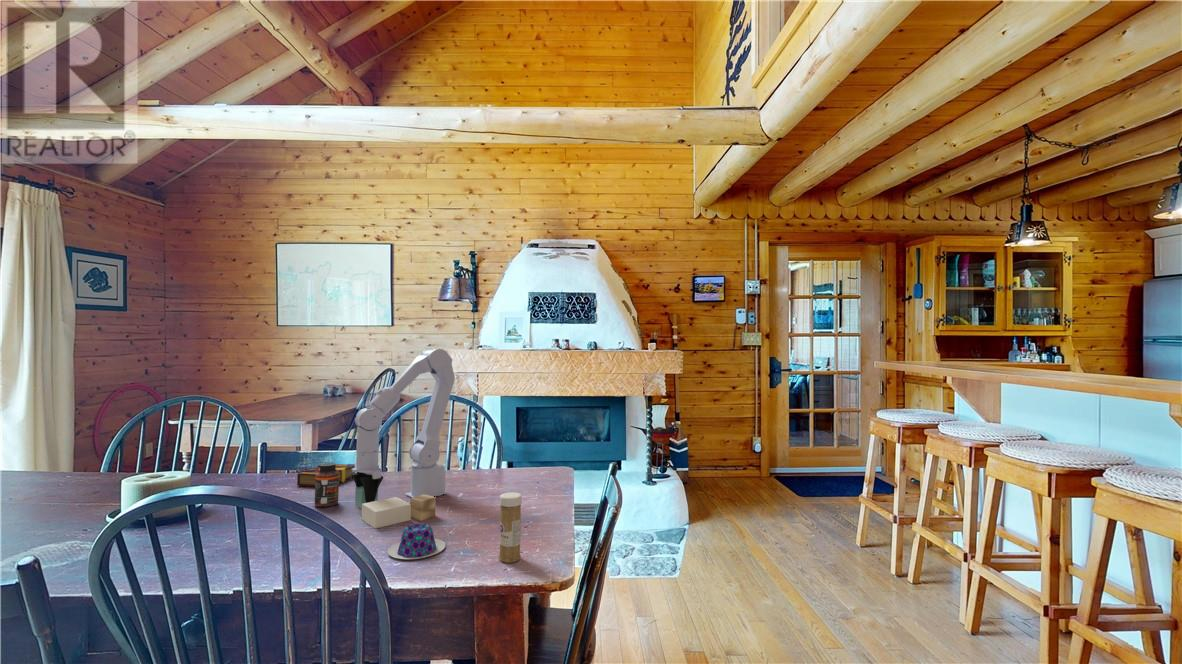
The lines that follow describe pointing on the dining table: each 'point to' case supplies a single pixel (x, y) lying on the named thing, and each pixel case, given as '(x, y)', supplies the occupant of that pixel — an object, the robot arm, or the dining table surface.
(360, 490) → the teal block
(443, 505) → the dining table surface
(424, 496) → the oak block
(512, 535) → the sprinkles bottle
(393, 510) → the base slab
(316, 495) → the supplement bottle
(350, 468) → the decorative book
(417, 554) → the purple patterned hat
